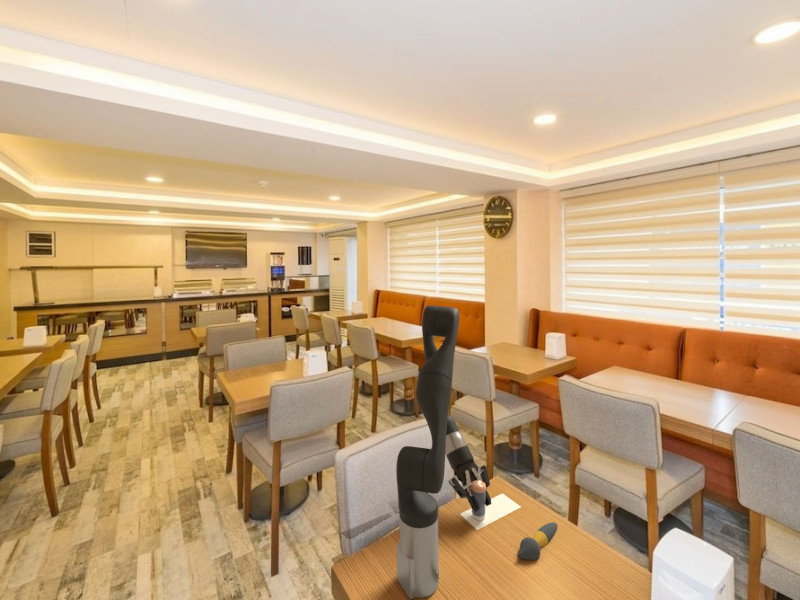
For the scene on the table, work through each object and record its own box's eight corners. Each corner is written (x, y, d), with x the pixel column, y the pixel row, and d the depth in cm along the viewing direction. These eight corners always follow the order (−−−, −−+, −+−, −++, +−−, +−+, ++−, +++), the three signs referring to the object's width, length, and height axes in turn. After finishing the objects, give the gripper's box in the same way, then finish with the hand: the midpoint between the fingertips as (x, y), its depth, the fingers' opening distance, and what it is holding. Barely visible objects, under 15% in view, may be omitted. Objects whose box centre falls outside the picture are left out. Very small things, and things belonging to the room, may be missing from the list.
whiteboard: (476, 537, 99) (476, 532, 99) (455, 518, 107) (455, 513, 107) (525, 511, 109) (525, 507, 109) (503, 495, 117) (503, 491, 117)
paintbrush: (543, 521, 105) (543, 506, 104) (560, 530, 101) (561, 514, 101) (512, 563, 91) (513, 545, 90) (531, 575, 87) (532, 556, 87)
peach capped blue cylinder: (478, 523, 102) (478, 491, 101) (468, 514, 106) (468, 483, 105) (488, 518, 105) (488, 486, 104) (478, 509, 108) (479, 479, 107)
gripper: (443, 451, 106) (471, 513, 97) (479, 439, 113) (507, 495, 104) (433, 460, 111) (458, 520, 102) (467, 447, 118) (494, 502, 109)
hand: (483, 507), depth 103 cm, fingers closed on peach capped blue cylinder, 4 cm apart
